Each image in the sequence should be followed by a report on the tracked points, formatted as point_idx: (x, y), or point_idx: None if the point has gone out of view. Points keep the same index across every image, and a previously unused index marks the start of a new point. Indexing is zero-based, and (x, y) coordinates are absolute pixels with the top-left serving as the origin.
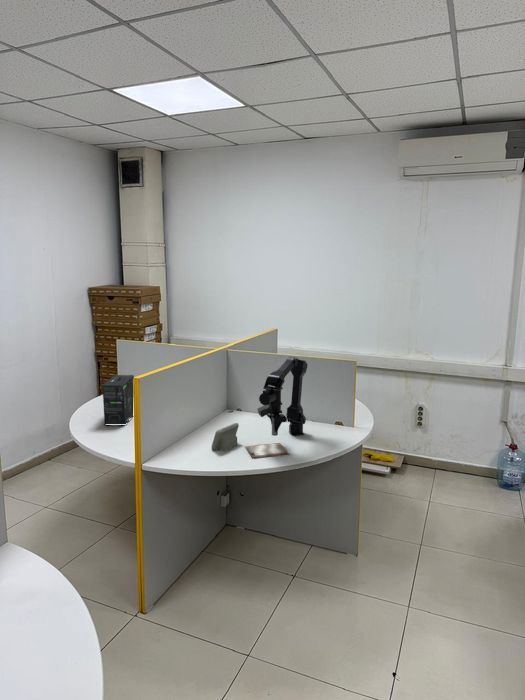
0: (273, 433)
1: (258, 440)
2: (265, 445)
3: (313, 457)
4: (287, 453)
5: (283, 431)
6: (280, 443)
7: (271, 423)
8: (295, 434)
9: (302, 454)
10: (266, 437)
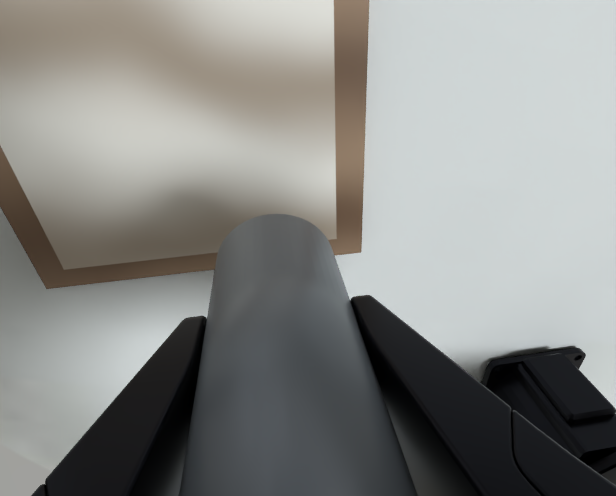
0: (220, 263)
1: (563, 9)
2: (310, 59)
3: (14, 428)
4: (39, 274)
5: (613, 313)
6: (338, 253)
7: (454, 407)
8: (489, 382)
9: (73, 375)
10: (588, 142)
